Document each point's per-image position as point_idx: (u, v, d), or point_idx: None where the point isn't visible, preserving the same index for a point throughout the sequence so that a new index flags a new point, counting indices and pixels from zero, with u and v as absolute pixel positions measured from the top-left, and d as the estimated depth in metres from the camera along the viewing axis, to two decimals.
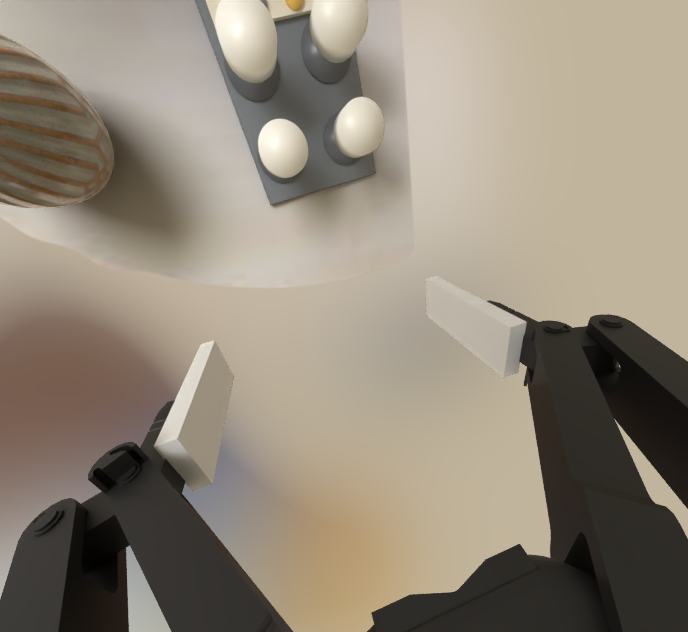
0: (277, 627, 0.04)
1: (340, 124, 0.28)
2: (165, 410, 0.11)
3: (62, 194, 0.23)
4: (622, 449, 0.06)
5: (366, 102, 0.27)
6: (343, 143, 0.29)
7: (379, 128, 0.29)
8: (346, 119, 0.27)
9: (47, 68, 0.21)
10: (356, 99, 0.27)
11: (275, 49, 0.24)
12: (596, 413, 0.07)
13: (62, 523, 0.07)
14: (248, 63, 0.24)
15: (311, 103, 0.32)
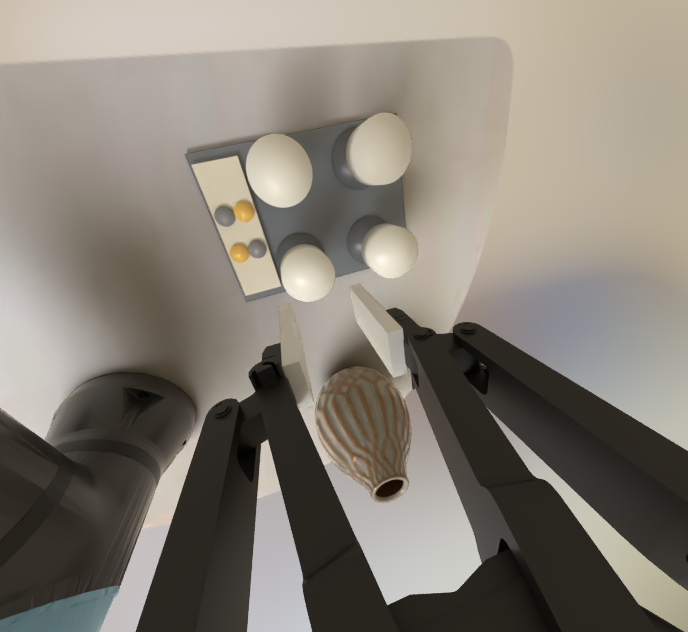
0: (361, 551, 0.05)
1: (379, 183, 0.23)
2: (268, 351, 0.13)
3: (406, 407, 0.35)
4: (499, 434, 0.07)
5: (360, 142, 0.21)
6: (396, 179, 0.23)
7: (387, 121, 0.21)
8: (375, 174, 0.22)
9: (337, 398, 0.33)
10: (357, 157, 0.22)
11: (318, 252, 0.24)
12: (473, 405, 0.08)
13: (230, 416, 0.09)
14: (329, 278, 0.25)
15: (324, 201, 0.29)
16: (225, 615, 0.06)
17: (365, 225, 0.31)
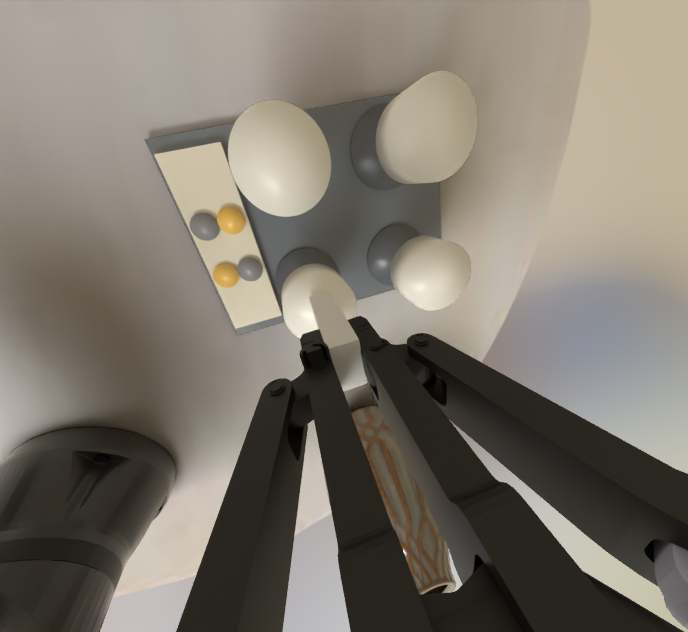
0: (397, 538, 0.05)
1: (427, 180, 0.16)
2: (305, 338, 0.14)
3: None
4: (460, 440, 0.07)
5: (404, 118, 0.14)
6: None
7: (446, 85, 0.14)
8: (422, 167, 0.15)
9: None
10: (398, 141, 0.14)
11: (334, 278, 0.17)
12: (433, 414, 0.08)
13: (283, 395, 0.10)
14: (349, 312, 0.19)
15: (339, 205, 0.22)
16: (270, 582, 0.06)
17: (391, 236, 0.24)
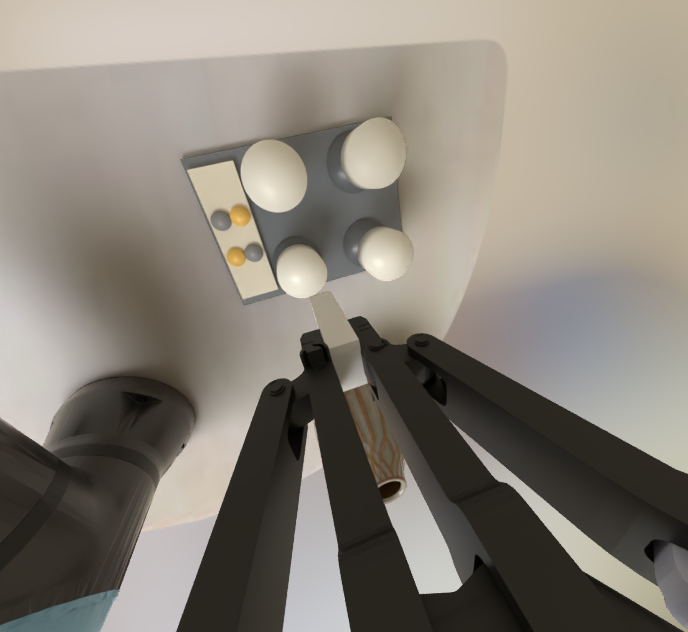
0: (397, 539, 0.05)
1: (374, 187, 0.23)
2: (305, 338, 0.14)
3: None
4: (460, 440, 0.07)
5: (354, 147, 0.21)
6: None
7: (381, 126, 0.21)
8: (369, 178, 0.23)
9: None
10: (351, 162, 0.22)
11: (311, 252, 0.26)
12: (433, 414, 0.08)
13: (283, 395, 0.10)
14: (322, 276, 0.27)
15: (320, 204, 0.29)
16: (269, 582, 0.06)
17: (361, 228, 0.32)
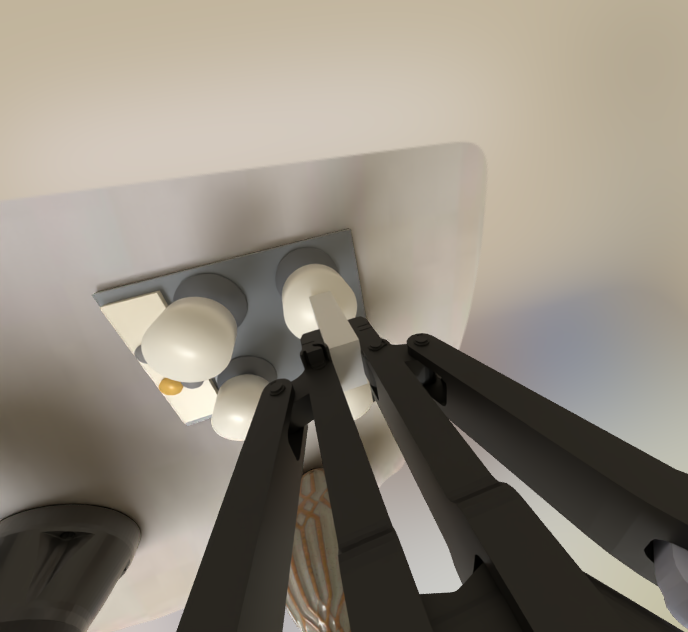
0: (397, 539, 0.05)
1: None
2: (305, 338, 0.14)
3: None
4: (460, 440, 0.07)
5: (290, 307, 0.17)
6: None
7: (322, 283, 0.17)
8: None
9: None
10: (287, 322, 0.18)
11: (251, 397, 0.22)
12: (433, 414, 0.08)
13: (283, 395, 0.10)
14: None
15: (271, 322, 0.25)
16: (270, 582, 0.06)
17: None
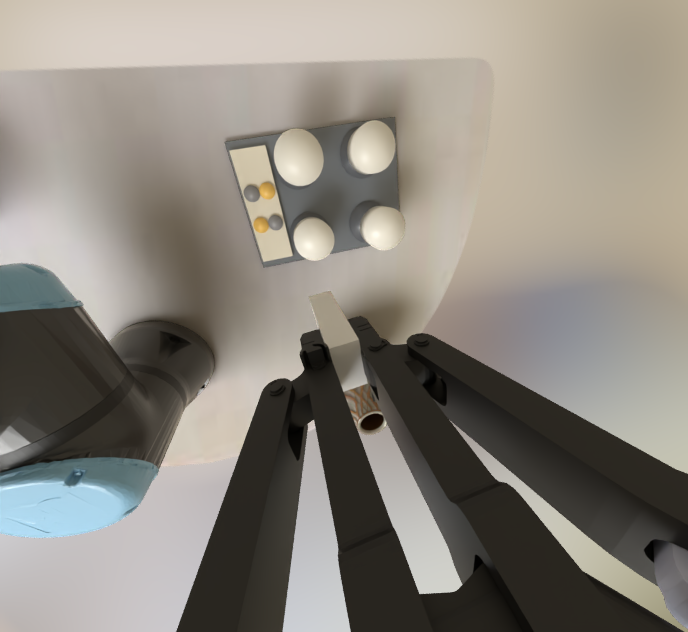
0: (397, 539, 0.05)
1: (370, 171, 0.31)
2: (305, 338, 0.14)
3: None
4: (460, 440, 0.07)
5: (357, 141, 0.29)
6: None
7: (377, 127, 0.29)
8: (367, 165, 0.31)
9: None
10: (354, 152, 0.30)
11: (322, 222, 0.32)
12: (433, 414, 0.08)
13: (283, 395, 0.10)
14: (330, 243, 0.34)
15: (332, 186, 0.36)
16: (269, 582, 0.06)
17: (365, 208, 0.38)
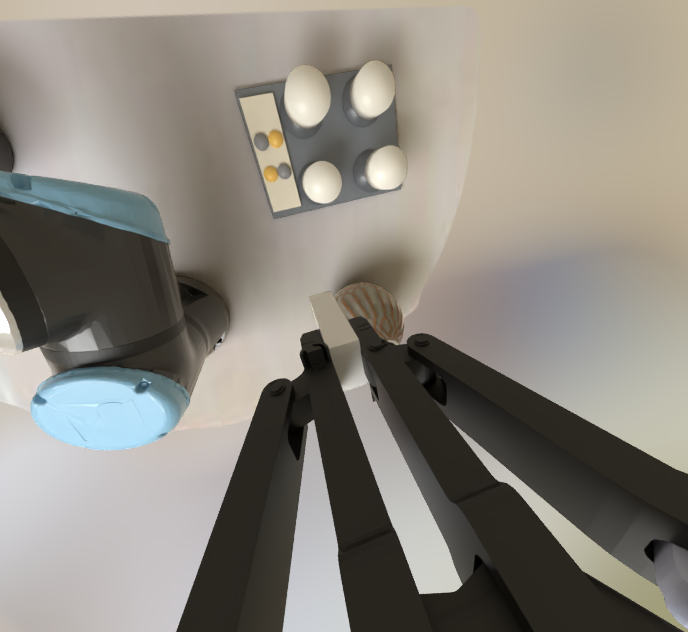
0: (397, 539, 0.05)
1: (373, 112, 0.33)
2: (305, 338, 0.14)
3: (400, 308, 0.43)
4: (460, 440, 0.07)
5: (359, 81, 0.31)
6: None
7: (378, 67, 0.31)
8: (370, 105, 0.33)
9: (345, 296, 0.41)
10: (357, 92, 0.32)
11: (330, 163, 0.34)
12: (433, 414, 0.08)
13: (283, 395, 0.10)
14: (338, 185, 0.36)
15: (336, 135, 0.38)
16: (269, 582, 0.06)
17: (367, 157, 0.40)
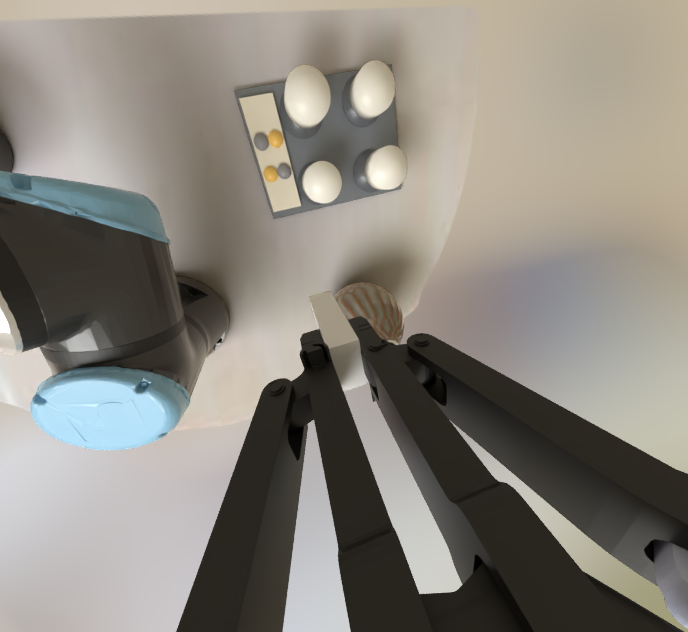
0: (397, 538, 0.05)
1: (372, 112, 0.33)
2: (305, 338, 0.14)
3: (400, 308, 0.43)
4: (460, 440, 0.07)
5: (359, 81, 0.31)
6: (384, 110, 0.34)
7: (378, 66, 0.31)
8: (369, 105, 0.33)
9: (345, 296, 0.41)
10: (357, 92, 0.32)
11: (330, 163, 0.34)
12: (433, 414, 0.08)
13: (283, 395, 0.10)
14: (337, 185, 0.36)
15: (336, 135, 0.38)
16: (269, 582, 0.06)
17: (367, 157, 0.40)
